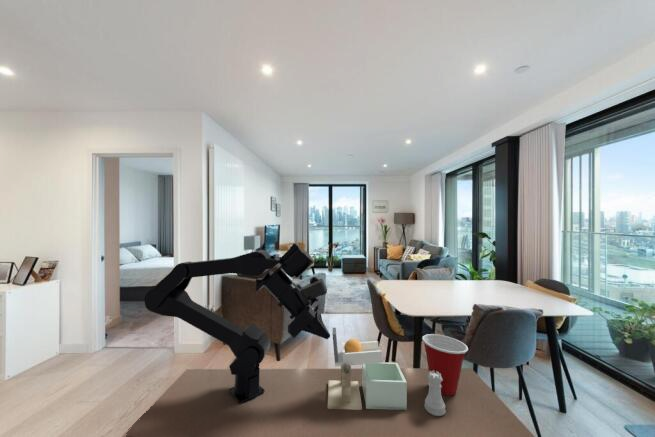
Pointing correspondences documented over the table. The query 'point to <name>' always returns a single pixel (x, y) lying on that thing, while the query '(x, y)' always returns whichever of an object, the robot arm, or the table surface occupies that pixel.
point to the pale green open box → (384, 386)
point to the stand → (344, 392)
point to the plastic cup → (445, 359)
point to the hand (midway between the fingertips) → (328, 337)
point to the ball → (352, 346)
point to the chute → (357, 353)
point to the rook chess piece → (435, 395)
